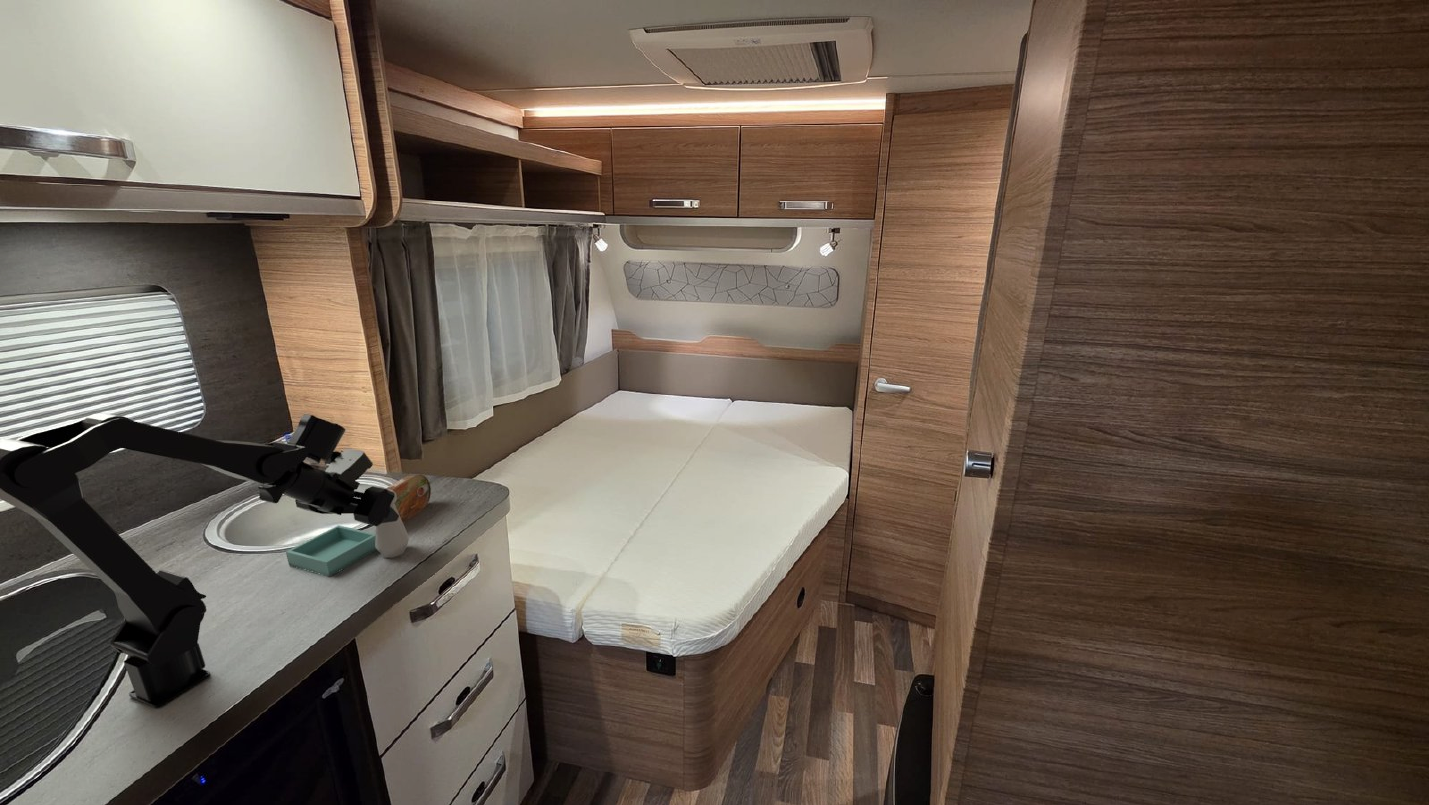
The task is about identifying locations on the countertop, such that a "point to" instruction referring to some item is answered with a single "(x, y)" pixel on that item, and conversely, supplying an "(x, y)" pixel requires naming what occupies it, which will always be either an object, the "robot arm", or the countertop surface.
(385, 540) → the salt shaker
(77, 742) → the countertop surface
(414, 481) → the tin
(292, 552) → the tray
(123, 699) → the countertop surface
